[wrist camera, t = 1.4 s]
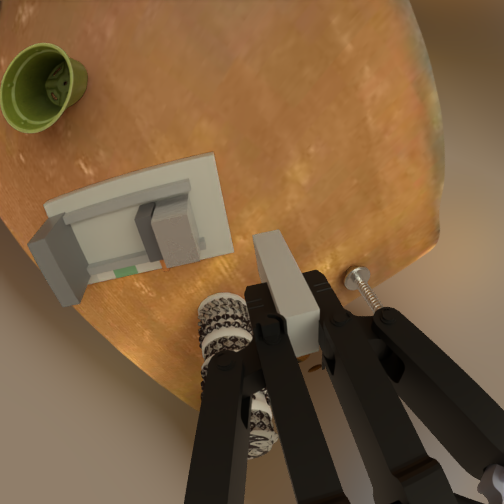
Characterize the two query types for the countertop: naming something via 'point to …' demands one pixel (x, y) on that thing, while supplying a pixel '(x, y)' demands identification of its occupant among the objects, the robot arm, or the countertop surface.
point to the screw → (362, 285)
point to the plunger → (176, 231)
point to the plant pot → (40, 87)
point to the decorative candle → (235, 338)
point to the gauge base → (123, 224)
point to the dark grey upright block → (149, 233)
